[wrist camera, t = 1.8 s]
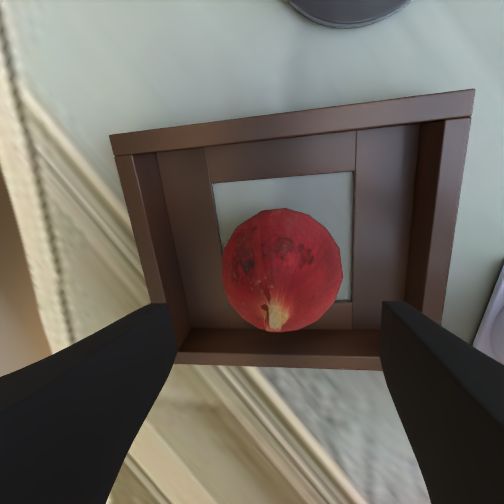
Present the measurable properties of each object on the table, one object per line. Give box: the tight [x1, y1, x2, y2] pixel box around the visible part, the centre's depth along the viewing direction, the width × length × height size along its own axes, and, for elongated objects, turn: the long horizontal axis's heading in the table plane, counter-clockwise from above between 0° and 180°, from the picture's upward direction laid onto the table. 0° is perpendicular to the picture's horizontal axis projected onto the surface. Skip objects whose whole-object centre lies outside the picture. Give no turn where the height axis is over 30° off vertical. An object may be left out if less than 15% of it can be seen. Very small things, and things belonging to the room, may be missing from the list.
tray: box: [109, 89, 475, 371], centre depth 16 cm, size 16×14×3 cm
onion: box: [222, 208, 343, 332], centre depth 14 cm, size 6×6×8 cm
